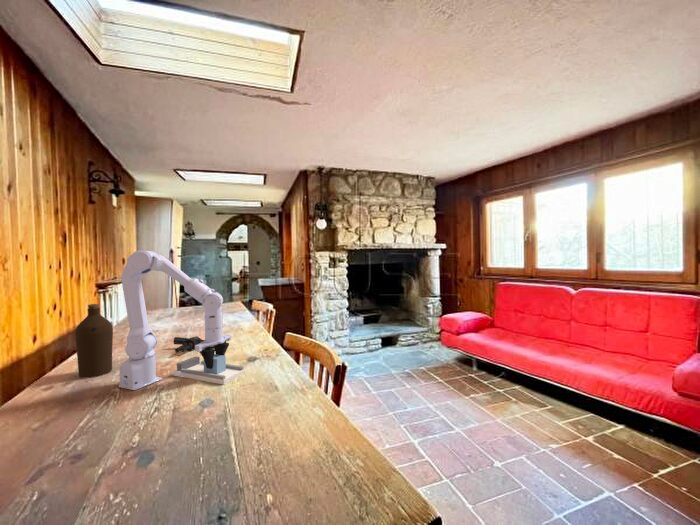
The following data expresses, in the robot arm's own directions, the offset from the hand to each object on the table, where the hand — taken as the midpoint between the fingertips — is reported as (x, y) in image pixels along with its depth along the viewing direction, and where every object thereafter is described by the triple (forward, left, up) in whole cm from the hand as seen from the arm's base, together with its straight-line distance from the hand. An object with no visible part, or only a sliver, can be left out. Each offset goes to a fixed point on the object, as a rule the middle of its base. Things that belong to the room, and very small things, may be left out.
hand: (214, 365), depth 109 cm
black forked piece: (+18, +32, -4) cm, 37 cm away
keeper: (0, 0, -2) cm, 2 cm away
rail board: (0, +3, -3) cm, 4 cm away
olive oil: (-13, +43, -4) cm, 45 cm away
